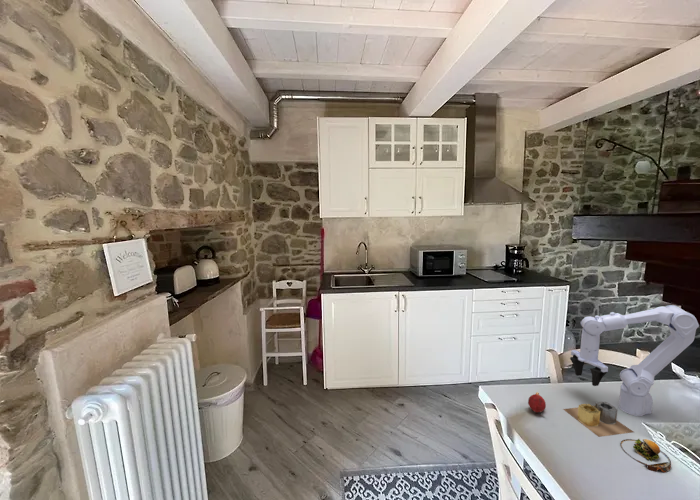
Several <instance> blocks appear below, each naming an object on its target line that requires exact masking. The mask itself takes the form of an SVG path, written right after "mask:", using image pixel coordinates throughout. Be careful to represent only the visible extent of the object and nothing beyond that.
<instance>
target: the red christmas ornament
mask: <svg viewBox="0 0 700 500" xmlns="http://www.w3.org/2000/svg"><path fill="white" fill-rule="evenodd" d="M527 403H528V406H529V408H530V409H531V410H532V411H533V412H534V413H535V414H536V413H542V412H544V410H546V405H547V404H546V400H545V399H544V398H543V397H542V396H541V395H540V393H539V392H538V391H537V392H535V394H532V395H530V396H529V397H528V401H527Z"/></svg>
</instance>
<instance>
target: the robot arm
mask: <svg viewBox="0 0 700 500" xmlns="http://www.w3.org/2000/svg"><path fill="white" fill-rule="evenodd" d="M649 322H650V323H652V322H657V323H660V324H662V325H663V324H664V325H665V326H666V325H667V326H668V329H669V332H670V334H669V335H668V336H667V337H666V338H665V339H664V340H663V341H662V342H661V343H659V344H658V345H657V346H656V348H654V349H653V350H652V351H651V352H650V353H649V354H648V355H646V357H645V358H643V360H642V361H640V362H639V363H638V364H632V365H631V366H629V367H628V368H624V369H622V370H621V371H620V373H619V378H620V381H622V383H621V385H620V388H619V389H620V390H619V400H618V408H619V410H621V411H623V413H626V414H629V415H632V416H636V417H643V416H644V415H650V414H652V410H653V403H654V399H653V396H652V395H651V393H650V390H651V387H652V386H654V383H655V377H656V376H657V375H658V374H659V373H660V372H661V371H662V370H663V369H664V368H666V367H667V366H668V365H669V364H670V363H671V362H672V361H674V359H676V358H677V357H678V356H679V355H680V354H681V353H682V352H683V351H685V350H686V349H687V348H688V347H689V346H690V345H691V344H692V343H693V342H694V340H695V337H696V333H697V329H698V328H700V324H699V322H698V320H697V318H696V317H695V315H694V314H692V313H690V312H689V311H685V310H684V309H682V308H681V307H679V306H678V305H676V304H675V305H673V304H672V305H671V304H670V305H665V306H658V307H655V308H652V309H646V310H642V311H637V312H632V313H627V314H621V313H619V312H617V313H616V312H614V311H611V312H609V314H604V315H595V316H588V315H587V316H585V317H584V318H583V319H581V321H580V326H581V327H582V330H581V337H580V339H581V340H580V347H579V348H580V350H579V351H578V350H575V349H572V350H571V351H570V355H571V356H570V357H569V359H570V362H571V363H572V366H573V369H574V373H575V376H582V375H583V371H584V369H583V368H584V364H585V363H586V364H588V365H591V366H593V367H591V368H590V373H591V384H592V385H591V386H593V387H598V386H599V385H600V382H601V381H602V379H603V378H604V376H606V374H608V372H609V367H608V366H607V365H605V364H604V363H603V362H602V361H600V359H599V354H600V353H599V352H600V340H601V339H600V338H601V334H602V333H603V332H609V331H615V330H620V329H625V328H626V327H627V326H628V325H633V324H640V323H649Z"/></svg>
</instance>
